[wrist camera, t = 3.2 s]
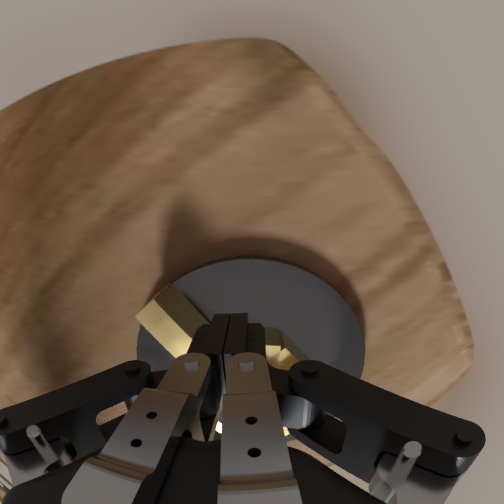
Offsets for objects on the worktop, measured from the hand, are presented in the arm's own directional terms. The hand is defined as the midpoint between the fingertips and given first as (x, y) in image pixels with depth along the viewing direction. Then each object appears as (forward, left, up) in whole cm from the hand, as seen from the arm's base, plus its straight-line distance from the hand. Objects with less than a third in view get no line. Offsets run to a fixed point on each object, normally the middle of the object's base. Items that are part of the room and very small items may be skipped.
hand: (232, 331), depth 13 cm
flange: (-6, -8, -12) cm, 15 cm away
